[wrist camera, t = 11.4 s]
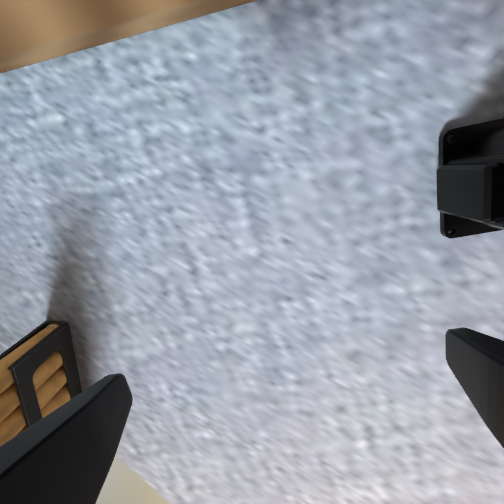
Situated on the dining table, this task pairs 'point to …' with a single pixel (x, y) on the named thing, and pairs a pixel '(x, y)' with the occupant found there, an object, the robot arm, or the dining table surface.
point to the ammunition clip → (36, 378)
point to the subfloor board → (86, 24)
